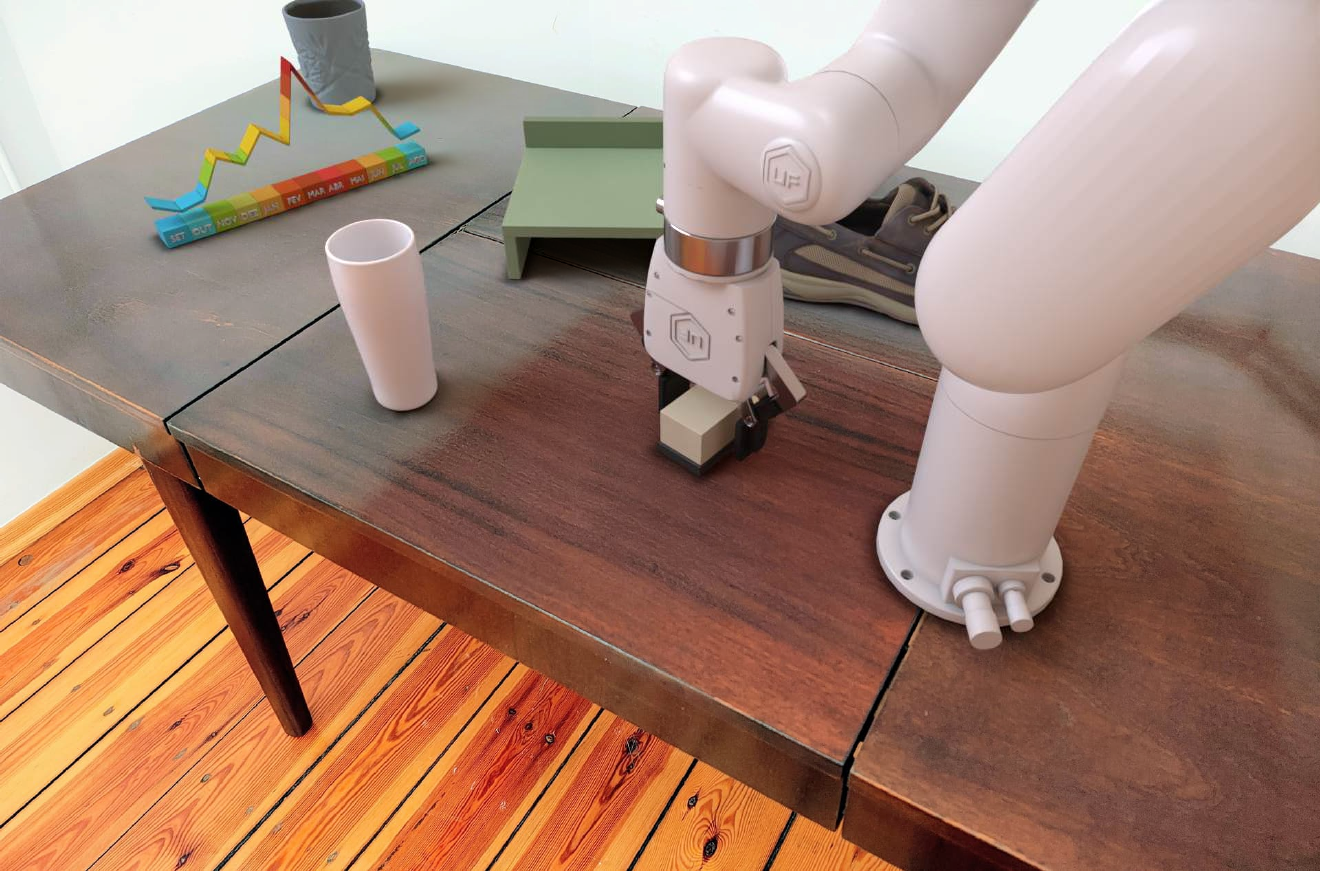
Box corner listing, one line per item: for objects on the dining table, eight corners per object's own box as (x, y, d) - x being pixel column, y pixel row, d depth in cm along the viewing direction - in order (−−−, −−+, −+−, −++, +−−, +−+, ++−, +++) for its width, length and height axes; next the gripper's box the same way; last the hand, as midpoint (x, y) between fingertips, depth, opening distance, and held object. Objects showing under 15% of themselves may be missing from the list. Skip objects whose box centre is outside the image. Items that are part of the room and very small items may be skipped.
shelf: (668, 281, 93) (668, 199, 87) (508, 279, 93) (497, 197, 87) (672, 193, 106) (672, 117, 100) (532, 192, 106) (524, 116, 100)
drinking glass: (409, 430, 77) (369, 274, 66) (350, 402, 79) (303, 248, 69) (463, 385, 81) (434, 232, 71) (405, 360, 83) (369, 209, 73)
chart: (169, 249, 98) (112, 110, 88) (160, 237, 100) (102, 99, 89) (428, 164, 112) (404, 36, 102) (415, 155, 114) (390, 28, 103)
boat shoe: (1057, 345, 84) (1093, 241, 77) (737, 310, 89) (742, 208, 82) (1045, 280, 92) (1077, 180, 85) (751, 251, 97) (758, 153, 90)
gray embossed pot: (293, 111, 123) (267, 16, 115) (326, 81, 131) (303, -10, 123) (366, 116, 122) (344, 21, 114) (394, 85, 129) (376, -6, 121)
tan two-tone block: (699, 477, 72) (701, 437, 69) (657, 451, 74) (657, 411, 72) (762, 425, 77) (765, 386, 74) (720, 402, 79) (722, 363, 76)
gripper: (588, 213, 65) (600, 406, 77) (790, 308, 57) (769, 507, 69) (660, 176, 69) (661, 364, 81) (858, 258, 61) (826, 455, 73)
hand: (710, 428), depth 75 cm, fingers open, 7 cm apart
